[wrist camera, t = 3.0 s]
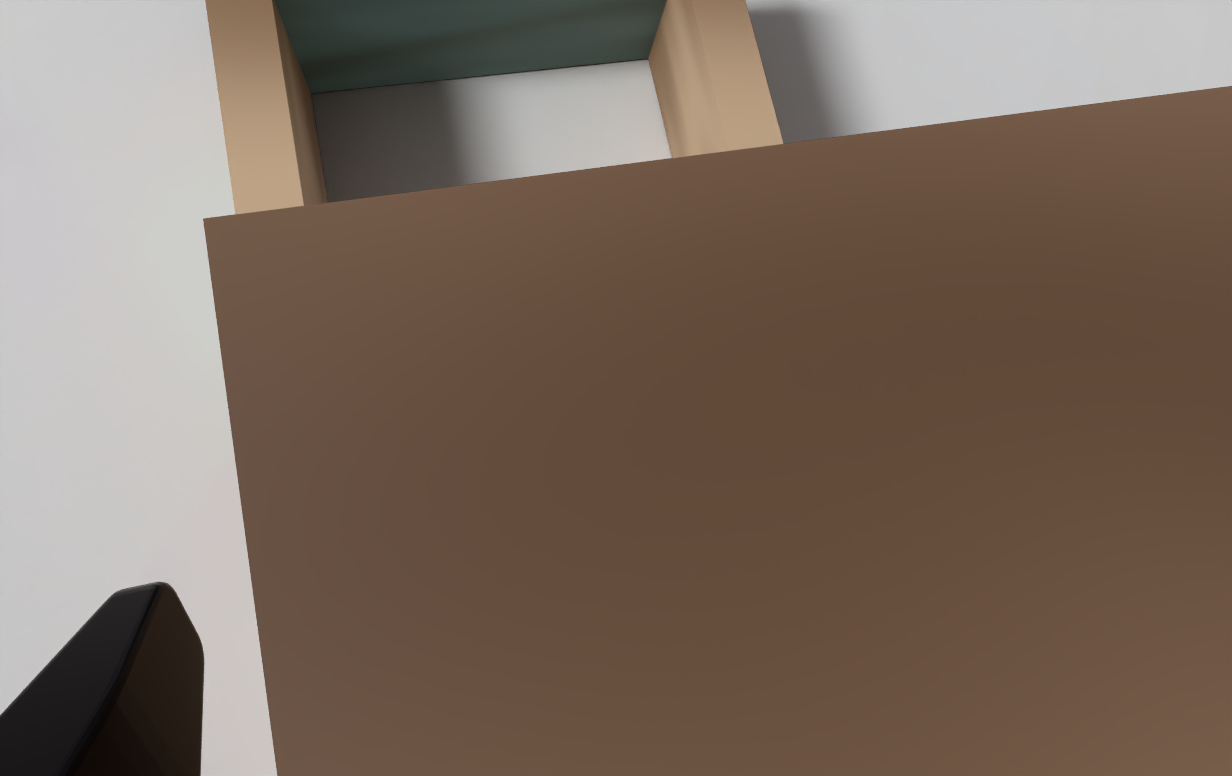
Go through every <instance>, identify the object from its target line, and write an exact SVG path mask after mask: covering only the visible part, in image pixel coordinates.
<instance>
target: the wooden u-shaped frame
mask: <svg viewBox="0 0 1232 776" xmlns="http://www.w3.org/2000/svg"><path fill="white" fill-rule="evenodd" d="M206 8H207V15H208V22H209V29H210V36H211V43H212V50H213V57H214V64H215V72H216V79H217V86H218V93H219V100H220V107H221V114H222V121H223V129H224V136H225V143H226V150H227V157H228V164H229V171H230V178H231V185H232V193H233V200H234V207H235V214H244V213H251V212H259V211H267V210H275V209H282V208H290V207H298V206H306V205H313V204H321V203H328V198H327V192H326V185H325V179H324V173H323V167H322V161H321V155H320V148H319V142H318V136H317V130H316V124H315V117H314V111H313V105H312V99H311V93H319V92H328V91H338V90H347V89H357V88H367V87H376V86H386V85H396V84H405V83H415V82H425V81H434V80H444V79H454V78H463V77H473V76H483V75H492V74H502V73H512V72H521V71H531V70H541V69H550V68H560V67H570V66H579V65H589V64H598V63H608V62H618V61H627V60H637V59H647V58H648V60H649V64H650V68H651V72H652V76H653V80H654V84H655V89H656V93H657V97H658V101H659V105H660V109H661V114H662V118H663V122H664V126H665V130H666V134H667V139H668V143H669V147H670V151H671V155H672V158H678V157H685V156H693V155H701V154H709V153H716V152H724V151H732V150H740V149H747V148H755V147H763V146H771V145H778V144H783V140H782V137H781V133H780V129H779V125H778V122H777V118H776V114H775V110H774V107H773V103H772V99H771V95H770V92H769V88H768V84H767V80H766V77H765V73H764V69H763V65H762V62H761V58H760V54H759V50H758V46H757V43H756V39H755V35H754V31H753V28H752V24H751V20H750V16H749V13H748V9H747V5H746V1H745V0H206Z"/></svg>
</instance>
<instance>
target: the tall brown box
mask: <svg viewBox="0 0 1232 776" xmlns="http://www.w3.org/2000/svg"><path fill="white" fill-rule="evenodd" d="M203 221H204V228H205V236H206V243H207V251H208V258H209V266H210V273H211V281H212V288H213V296H214V303H215V311H216V318H217V326H218V333H219V341H220V348H221V356H222V363H223V371H224V378H225V386H226V393H227V401H228V408H229V416H230V423H231V431H232V438H233V446H234V453H235V461H236V468H237V476H238V483H239V491H240V498H241V506H242V513H243V521H244V528H245V536H246V543H247V551H248V558H249V566H250V573H251V581H252V588H253V596H254V603H255V611H256V618H257V626H258V633H259V641H260V648H261V656H262V663H263V671H264V678H265V686H266V693H267V701H268V708H269V716H270V723H271V731H272V738H273V746H274V753H275V761H276V768H277V776H1232V86H1228V87H1220V88H1213V89H1205V90H1197V91H1189V92H1182V93H1174V94H1166V95H1158V96H1151V97H1143V98H1135V99H1127V100H1120V101H1112V102H1104V103H1096V104H1089V105H1081V106H1073V107H1065V108H1057V109H1050V110H1042V111H1034V112H1026V113H1019V114H1011V115H1003V116H995V117H988V118H980V119H972V120H964V121H957V122H949V123H941V124H933V125H926V126H918V127H910V128H902V129H895V130H887V131H879V132H871V133H864V134H856V135H848V136H840V137H833V138H825V139H817V140H809V141H802V142H794V143H786V144H778V145H771V146H763V147H755V148H747V149H740V150H732V151H724V152H716V153H709V154H701V155H693V156H685V157H678V158H670V159H662V160H654V161H647V162H639V163H631V164H623V165H616V166H608V167H600V168H592V169H585V170H577V171H569V172H561V173H554V174H546V175H538V176H530V177H523V178H515V179H507V180H499V181H492V182H484V183H476V184H468V185H461V186H453V187H445V188H437V189H430V190H422V191H414V192H406V193H399V194H391V195H383V196H375V197H368V198H360V199H352V200H344V201H337V202H329V203H321V204H313V205H306V206H298V207H290V208H282V209H275V210H267V211H259V212H251V213H244V214H236V215H228V216H220V217H212V218H205V219H203Z"/></svg>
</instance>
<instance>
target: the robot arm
mask: <svg viewBox="0 0 1232 776" xmlns="http://www.w3.org/2000/svg"><path fill="white" fill-rule="evenodd" d="M203 686H204V653H203V647H202V643H201V640H200V638H199V635H198V633H197V632H196V630H195V628H194V626H193V624H192V622H191V620H190V618H189V616H188V614H187V613H186V611H185V609H184V607H183V605H182V603H181V601H180V599H179V597H178V596H177V594H176V592H175V590H174V589H173V588H172V587H171V586H170V585H169V584H168V583H165V582H155V583H150V584H145V585H140V586H135V587H131V588H126V589H122V590H120V591H117V592H116V593H114V594H113V595H112V596H110V597H109V598H108V599H107V600H106V601H105V603H104V604H103V605H102V606H101V607H100V608H99V609H98V610H97V611H96V612H95V613H94V614H93V616H92V617H91V618H90V619H89V620H88V621H87V622H86V623H85V624H84V625H83V626H82V627H81V628H80V630H79V631H78V632H77V633H76V634H75V635H74V636H73V637H72V638H71V639H70V640H69V641H68V643H67V644H66V645H65V646H64V647H63V648H62V649H61V650H60V651H59V652H58V653H57V654H56V656H55V657H54V658H53V659H52V660H51V661H50V662H49V663H48V664H47V665H46V666H45V667H44V668H43V670H42V671H41V672H40V673H39V674H38V675H37V676H36V677H35V678H34V679H33V680H32V681H31V683H30V684H29V685H28V686H27V687H26V688H25V689H24V690H23V691H22V692H21V693H20V694H19V696H18V697H17V698H16V699H15V700H14V701H13V702H12V703H11V704H10V705H9V706H8V707H7V709H6V710H5V711H4V712H3V713H2V714H1V715H0V776H201V746H202V716H203Z"/></svg>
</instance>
